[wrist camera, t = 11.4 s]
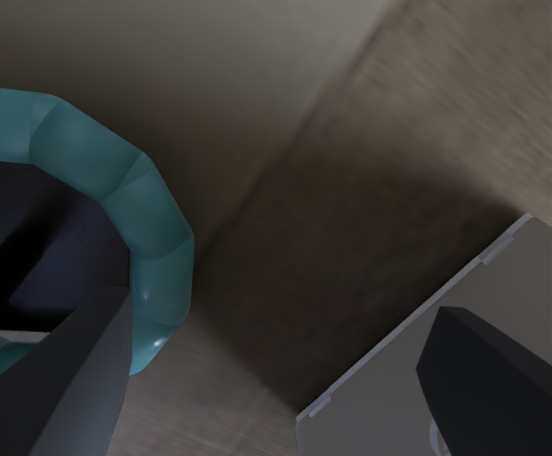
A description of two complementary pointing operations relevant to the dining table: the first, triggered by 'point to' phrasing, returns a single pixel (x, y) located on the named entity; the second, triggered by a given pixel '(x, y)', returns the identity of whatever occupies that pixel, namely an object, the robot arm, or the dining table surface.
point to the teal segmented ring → (108, 209)
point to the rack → (52, 249)
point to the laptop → (409, 345)
